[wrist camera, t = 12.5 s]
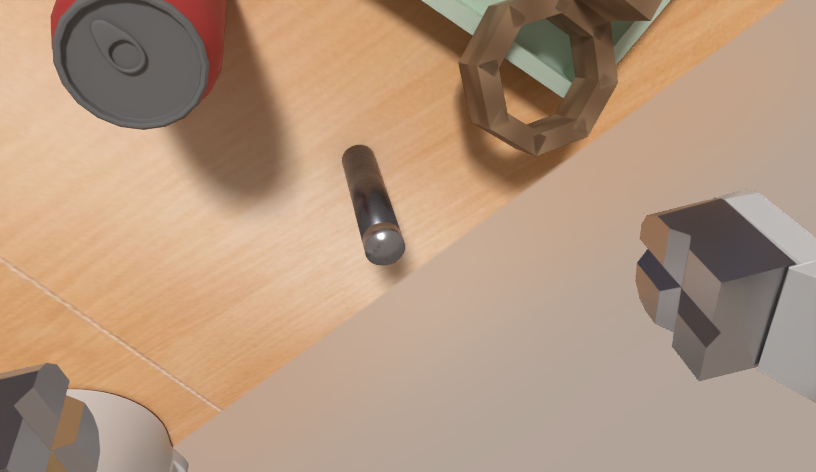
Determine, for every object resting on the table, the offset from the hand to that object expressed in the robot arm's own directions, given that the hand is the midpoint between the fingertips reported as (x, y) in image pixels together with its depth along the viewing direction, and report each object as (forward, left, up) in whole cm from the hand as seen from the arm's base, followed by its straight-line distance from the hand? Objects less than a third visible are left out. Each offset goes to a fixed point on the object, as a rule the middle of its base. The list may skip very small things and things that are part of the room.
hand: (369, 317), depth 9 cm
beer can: (-6, +3, -31) cm, 32 cm away
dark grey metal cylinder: (-10, -12, -31) cm, 34 cm away
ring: (+1, -16, -27) cm, 31 cm away
